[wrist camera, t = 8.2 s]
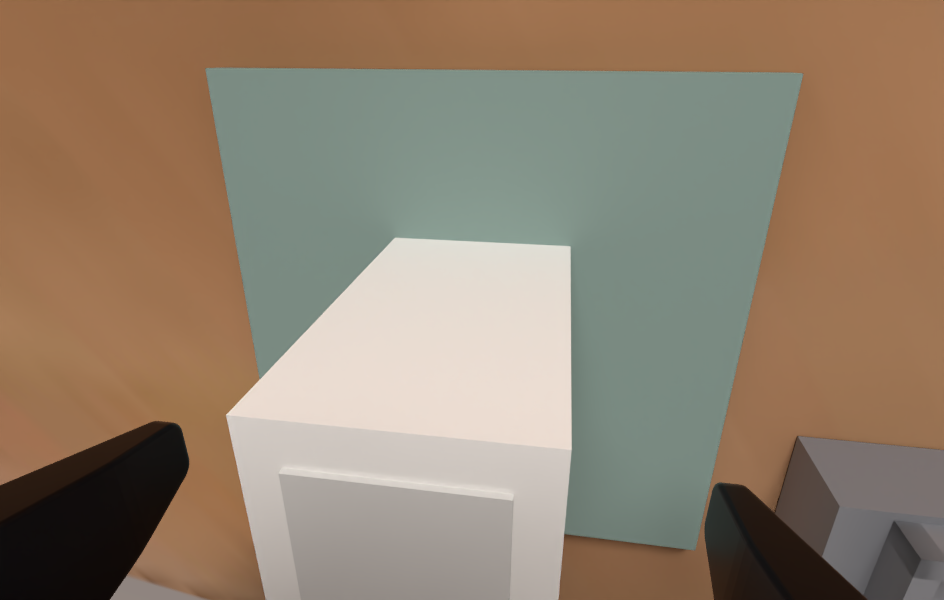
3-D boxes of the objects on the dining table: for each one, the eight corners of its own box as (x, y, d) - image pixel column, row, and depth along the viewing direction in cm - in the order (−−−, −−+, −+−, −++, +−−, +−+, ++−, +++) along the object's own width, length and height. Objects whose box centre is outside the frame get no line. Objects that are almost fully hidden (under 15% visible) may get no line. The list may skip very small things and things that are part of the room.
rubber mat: (791, 72, 11) (803, 73, 10) (691, 533, 16) (695, 550, 15) (220, 67, 13) (205, 68, 12) (289, 484, 17) (280, 498, 17)
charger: (570, 246, 12) (571, 455, 6) (556, 431, 14) (546, 739, 8) (394, 237, 13) (221, 420, 6) (405, 417, 15) (280, 692, 8)
